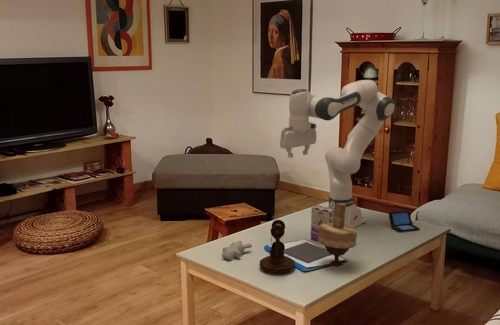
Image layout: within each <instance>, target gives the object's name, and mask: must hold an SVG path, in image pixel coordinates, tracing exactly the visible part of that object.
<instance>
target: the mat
mask: <svg viewBox="0 0 500 325" xmlns="http://www.w3.org/2000/svg"><path fill="white" fill-rule="evenodd" d="M284 255H287V256H288V257H292V258H294V259H297V260H298V261H302V262H304V263H306V264H309V263H312V262H315V261H318V260H320V259H324V258H325V257H328V256H331V255H332V254H330V253H329V252H328V251H327V250H326V248H324V247H321V246H319V245H315V244H313V243H311V242H308V241H305V242H301V243H299V244H296V245H293V246H290V247H287V248H285V250H284ZM332 256H333V255H332Z"/></svg>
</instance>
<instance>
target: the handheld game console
mask: <svg viewBox="0 0 500 325" xmlns="http://www.w3.org/2000/svg"><path fill="white" fill-rule="evenodd" d="M388 217H389V218H388V219H389V222H390V229H392V230H394V231H395V232H397V233H409V232H416V231H420V229H421V228H420V227H418V226H416V225H414V223H413V220H412V216H411V212H410V211H409V210H403V211H393V212H389V213H388Z"/></svg>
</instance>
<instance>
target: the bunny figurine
mask: <svg viewBox="0 0 500 325" xmlns="http://www.w3.org/2000/svg"><path fill="white" fill-rule="evenodd" d="M252 247H253V246H252V243H245V244H243V241H242V240H237V242H232V243H231V244H230V245H229V246H226V247H223V248H222V253H221V258H222V259H227V260H228V261H229V260H230V261H233V260H234V259H235V258H242V255H243V254H244V253H245V249H250V248H252Z"/></svg>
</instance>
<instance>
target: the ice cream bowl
mask: <svg viewBox="0 0 500 325" xmlns="http://www.w3.org/2000/svg"><path fill="white" fill-rule="evenodd" d="M323 246H324V247H325V248H324V249H326V250H327V251H328V252H329V253H330V254H332V256H334V260H331V261H330V262H329V265H330V266H331V267H335V268H339V267H342V266H344V263H343V262H342V261H340V256H341V257H342V256H343V255H345V254H346V253H347V252H348V251H349V250H350V248H333V247H328V246H325V245H323Z"/></svg>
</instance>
